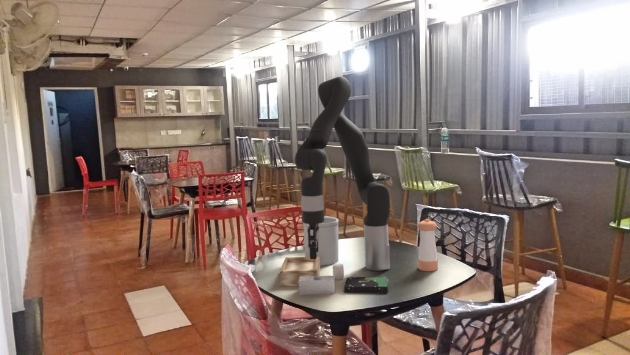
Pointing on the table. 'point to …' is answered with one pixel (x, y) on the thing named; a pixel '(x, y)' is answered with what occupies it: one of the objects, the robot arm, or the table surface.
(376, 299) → the table surface
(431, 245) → the pepper shaker
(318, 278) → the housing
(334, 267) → the spool
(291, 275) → the wooden tray
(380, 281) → the disk drive
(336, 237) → the utensil holder
